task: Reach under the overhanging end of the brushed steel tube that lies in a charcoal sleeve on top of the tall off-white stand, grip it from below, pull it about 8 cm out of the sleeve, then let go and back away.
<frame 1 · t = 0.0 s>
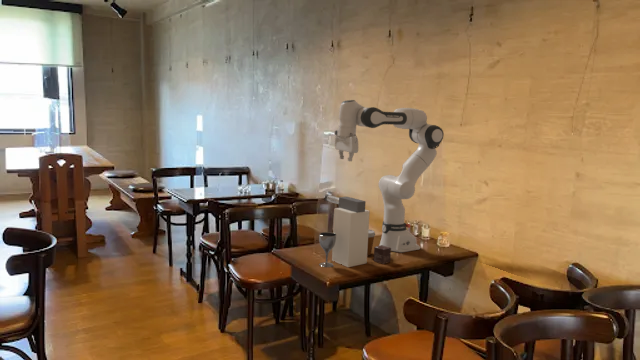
hand: (345, 160, 251), 48 cm above the table, tool pointing down, fingers open, 8 cm apart
box: (381, 262, 245), on the table
wine glass: (326, 265, 236), on the table
disposable coffee cup: (364, 254, 257), on the table
stand: (349, 261, 242), on the table
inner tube: (341, 201, 244), point 29 cm above the table, slide at 0.0 cm
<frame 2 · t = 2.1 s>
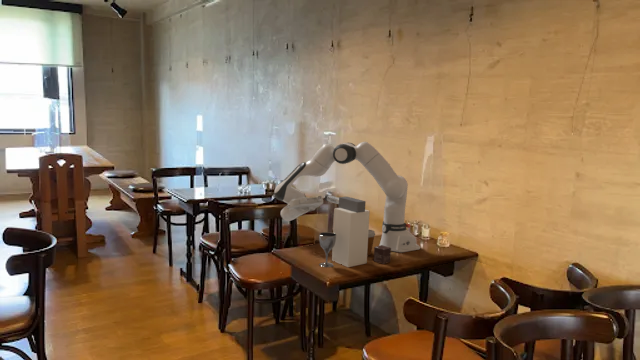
hand: (313, 197, 262), 27 cm above the table, tool pointing upward, fingers open, 8 cm apart
nothing on the table moved.
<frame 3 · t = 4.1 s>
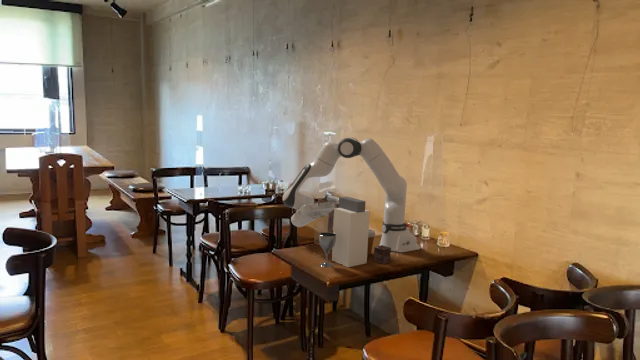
hand: (325, 203, 254), 26 cm above the table, tool pointing upward, fingers open, 8 cm apart
nothing on the table moved.
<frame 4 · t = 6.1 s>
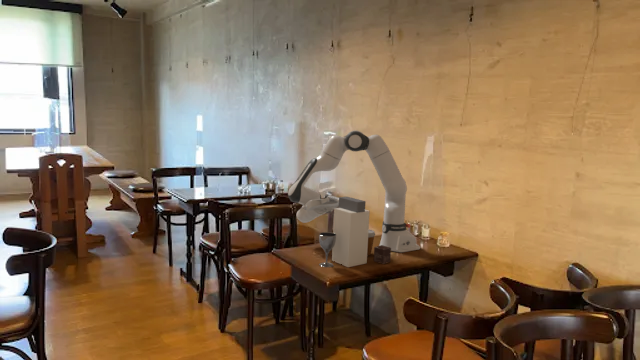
hand: (332, 198, 249), 29 cm above the table, tool pointing upward, fingers closed on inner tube, 3 cm apart
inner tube: (341, 201, 244), point 29 cm above the table, slide at 0.0 cm, touching gripper
everything else where it was.
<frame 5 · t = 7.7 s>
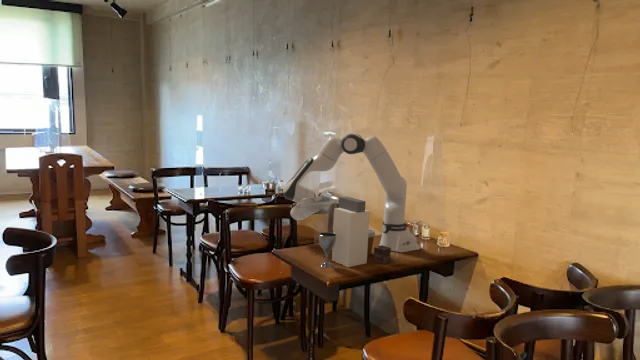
hand: (325, 196, 254), 29 cm above the table, tool pointing upward, fingers closed on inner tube, 3 cm apart
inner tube: (334, 199, 248), point 29 cm above the table, slide at 5.5 cm, touching gripper
everything else where it was.
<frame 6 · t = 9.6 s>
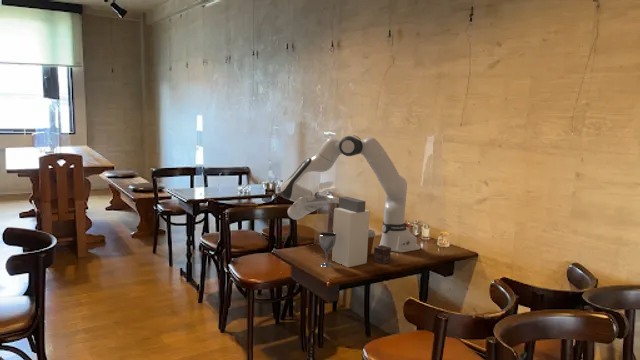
hand: (322, 195, 256), 29 cm above the table, tool pointing upward, fingers open, 8 cm apart
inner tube: (331, 198, 250), point 29 cm above the table, slide at 8.4 cm
everything else where it was.
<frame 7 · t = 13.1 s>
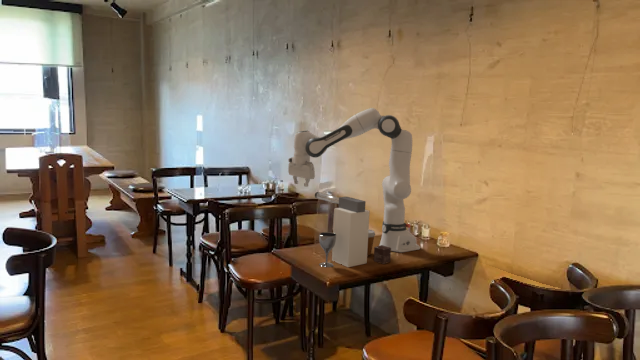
hand: (301, 185, 274), 31 cm above the table, tool pointing down, fingers open, 8 cm apart
nothing on the table moved.
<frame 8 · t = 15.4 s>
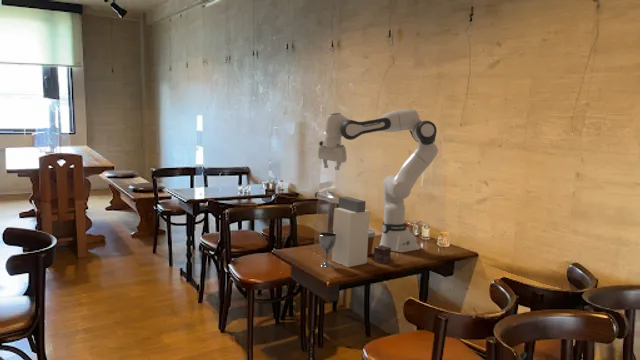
hand: (331, 169, 269), 41 cm above the table, tool pointing down, fingers open, 8 cm apart
nothing on the table moved.
at the end: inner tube slide at 8.4 cm; the gripper is holding nothing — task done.
